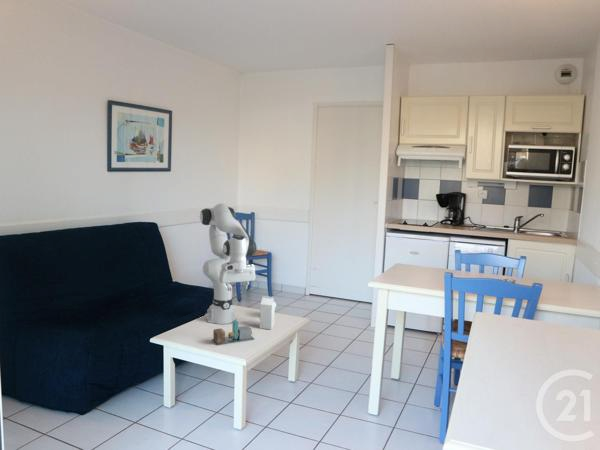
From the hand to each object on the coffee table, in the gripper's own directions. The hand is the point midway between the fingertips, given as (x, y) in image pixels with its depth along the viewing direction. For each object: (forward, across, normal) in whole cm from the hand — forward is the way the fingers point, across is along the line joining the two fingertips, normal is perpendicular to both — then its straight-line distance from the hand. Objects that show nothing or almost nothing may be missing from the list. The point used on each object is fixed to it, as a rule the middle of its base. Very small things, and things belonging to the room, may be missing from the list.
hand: (237, 289), depth 263 cm
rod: (+27, -2, 0) cm, 27 cm away
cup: (+28, -34, -29) cm, 53 cm away
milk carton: (+28, -25, -12) cm, 39 cm away
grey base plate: (+28, +2, 0) cm, 28 cm away
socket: (+28, +10, 0) cm, 30 cm away
